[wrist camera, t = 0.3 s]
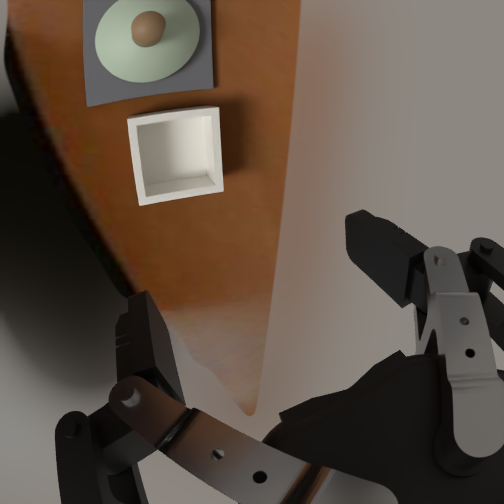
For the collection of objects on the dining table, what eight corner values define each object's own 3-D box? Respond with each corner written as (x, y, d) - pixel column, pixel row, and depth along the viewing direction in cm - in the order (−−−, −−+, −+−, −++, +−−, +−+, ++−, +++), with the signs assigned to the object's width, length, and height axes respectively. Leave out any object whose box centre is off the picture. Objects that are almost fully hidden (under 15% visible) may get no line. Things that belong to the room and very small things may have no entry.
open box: (129, 116, 30) (127, 119, 26) (208, 105, 32) (218, 107, 28) (139, 191, 35) (139, 205, 30) (213, 179, 37) (223, 191, 33)
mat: (84, -6, 21) (83, -8, 20) (208, -20, 25) (210, -22, 24) (88, 107, 28) (87, 107, 27) (211, 88, 32) (213, 88, 31)
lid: (96, 0, 21) (90, -14, 17) (196, -11, 24) (206, -26, 20) (99, 91, 27) (92, 90, 23) (199, 76, 30) (209, 73, 26)
